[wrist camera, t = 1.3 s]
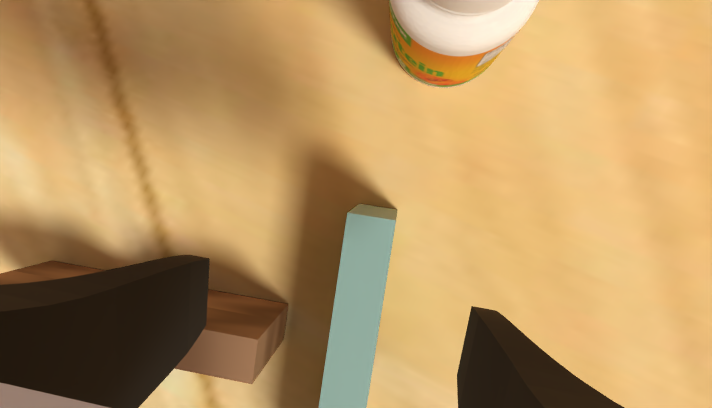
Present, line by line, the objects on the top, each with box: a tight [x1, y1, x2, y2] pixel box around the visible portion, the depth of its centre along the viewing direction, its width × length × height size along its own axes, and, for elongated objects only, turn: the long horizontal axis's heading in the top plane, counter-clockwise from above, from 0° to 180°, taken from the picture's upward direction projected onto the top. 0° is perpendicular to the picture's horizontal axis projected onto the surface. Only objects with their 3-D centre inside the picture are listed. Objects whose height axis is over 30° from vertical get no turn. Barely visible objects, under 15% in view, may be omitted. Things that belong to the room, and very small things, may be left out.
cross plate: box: [319, 204, 397, 408], centre depth 21 cm, size 14×2×5 cm, turn 171°
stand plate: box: [0, 261, 288, 384], centre depth 22 cm, size 14×2×5 cm, turn 81°
